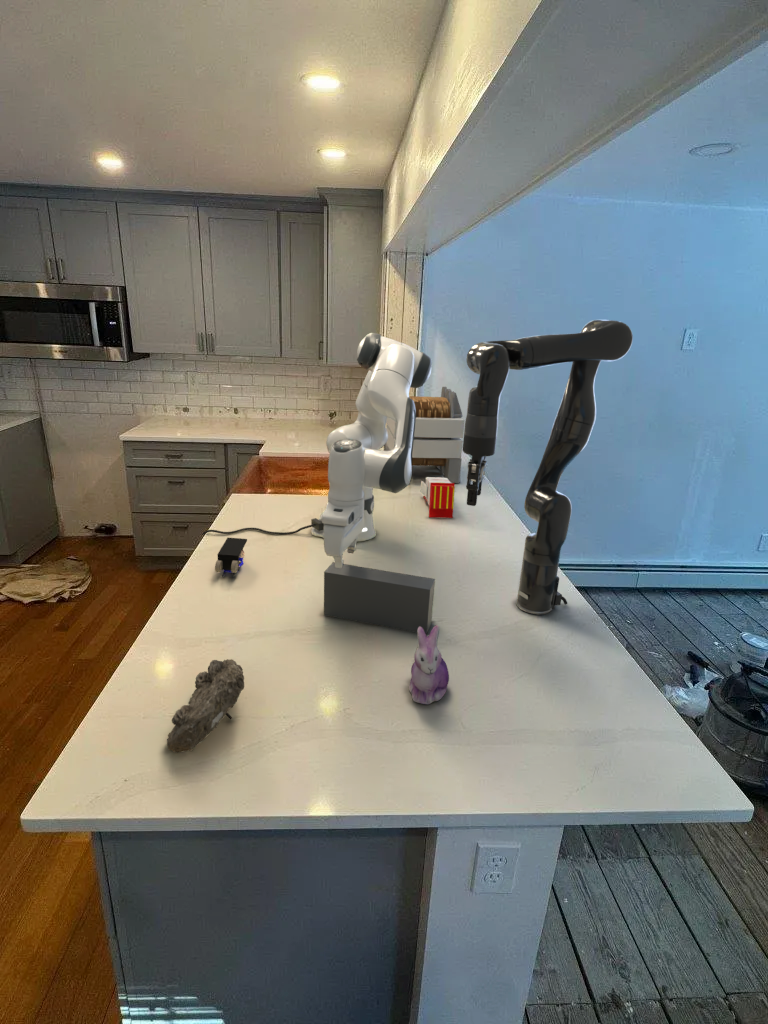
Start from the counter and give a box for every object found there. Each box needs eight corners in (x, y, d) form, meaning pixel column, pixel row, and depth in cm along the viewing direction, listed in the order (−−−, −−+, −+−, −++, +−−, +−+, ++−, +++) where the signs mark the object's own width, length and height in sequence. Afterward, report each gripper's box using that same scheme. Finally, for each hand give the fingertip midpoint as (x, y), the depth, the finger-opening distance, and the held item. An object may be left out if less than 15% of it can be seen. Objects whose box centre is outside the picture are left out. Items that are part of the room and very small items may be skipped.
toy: (448, 473, 241) (459, 484, 212) (446, 504, 244) (457, 519, 215) (419, 472, 241) (426, 483, 211) (418, 503, 243) (425, 518, 214)
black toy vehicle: (238, 584, 162) (249, 557, 175) (236, 562, 158) (247, 536, 172) (215, 584, 161) (227, 556, 175) (212, 561, 158) (225, 535, 171)
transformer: (382, 463, 289) (386, 382, 275) (445, 464, 293) (451, 384, 279) (390, 482, 257) (394, 392, 243) (460, 483, 261) (468, 394, 247)
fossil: (192, 660, 117) (244, 628, 112) (224, 691, 120) (276, 661, 115) (142, 746, 98) (202, 712, 93) (182, 779, 101) (242, 748, 96)
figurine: (421, 712, 112) (426, 647, 106) (396, 683, 120) (400, 621, 115) (461, 699, 116) (467, 636, 111) (434, 672, 124) (439, 611, 119)
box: (323, 614, 145) (324, 571, 141) (332, 603, 151) (332, 562, 147) (426, 634, 139) (430, 589, 135) (431, 622, 144) (435, 578, 140)
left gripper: (347, 493, 148) (346, 542, 152) (318, 519, 129) (319, 574, 134) (370, 496, 146) (369, 545, 151) (345, 522, 128) (344, 577, 132)
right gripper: (493, 441, 123) (486, 511, 129) (499, 429, 136) (492, 493, 142) (459, 437, 125) (453, 506, 130) (468, 426, 138) (462, 489, 143)
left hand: (345, 559), depth 142 cm, fingers open, 8 cm apart
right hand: (473, 499), depth 136 cm, fingers open, 8 cm apart
